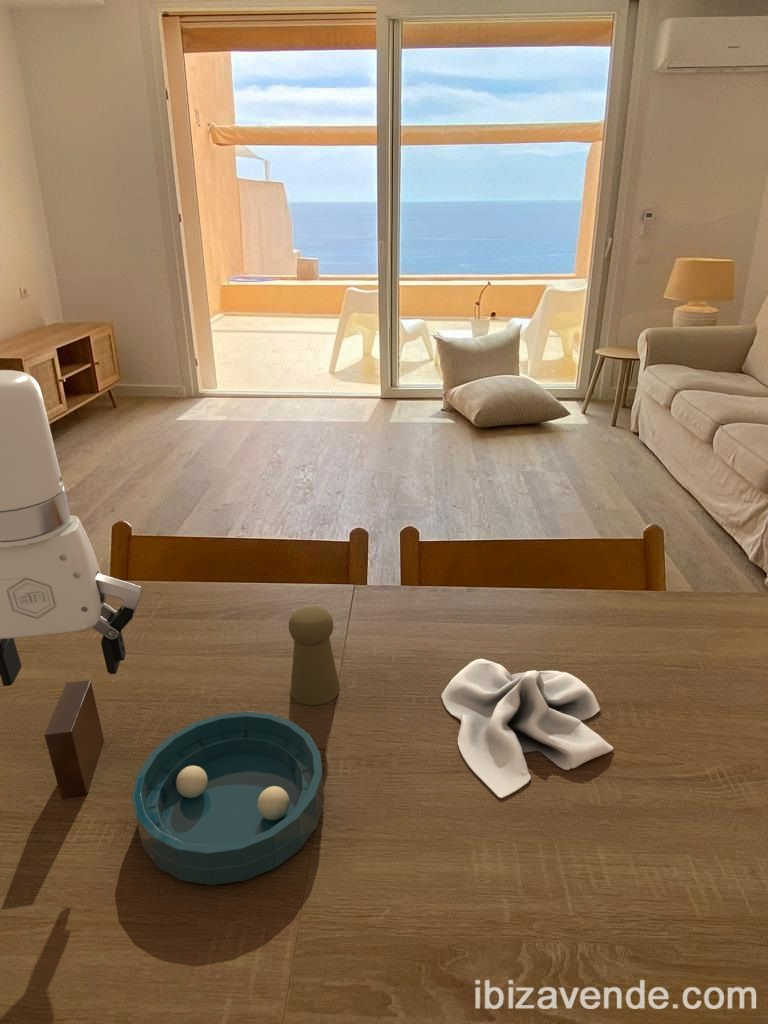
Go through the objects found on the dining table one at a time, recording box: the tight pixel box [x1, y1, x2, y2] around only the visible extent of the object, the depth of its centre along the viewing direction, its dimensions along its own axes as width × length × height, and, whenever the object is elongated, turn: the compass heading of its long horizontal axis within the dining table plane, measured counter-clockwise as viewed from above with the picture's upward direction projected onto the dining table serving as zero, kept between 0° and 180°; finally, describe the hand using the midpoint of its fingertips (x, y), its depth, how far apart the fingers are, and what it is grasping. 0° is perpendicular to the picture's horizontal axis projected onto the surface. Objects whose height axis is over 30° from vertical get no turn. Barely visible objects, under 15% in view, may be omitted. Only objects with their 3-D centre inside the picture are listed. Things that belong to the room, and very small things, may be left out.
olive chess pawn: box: [288, 605, 341, 706], centre depth 83 cm, size 6×6×11 cm
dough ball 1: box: [176, 766, 207, 798], centre depth 69 cm, size 3×3×3 cm
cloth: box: [441, 658, 614, 799], centre depth 78 cm, size 22×19×6 cm
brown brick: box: [43, 679, 105, 799], centre depth 72 cm, size 2×8×8 cm, turn 9°
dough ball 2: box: [258, 786, 289, 820], centre depth 66 cm, size 3×3×3 cm
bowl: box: [131, 710, 325, 886], centre depth 67 cm, size 18×18×4 cm
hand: (64, 671), depth 68 cm, fingers open, 9 cm apart
